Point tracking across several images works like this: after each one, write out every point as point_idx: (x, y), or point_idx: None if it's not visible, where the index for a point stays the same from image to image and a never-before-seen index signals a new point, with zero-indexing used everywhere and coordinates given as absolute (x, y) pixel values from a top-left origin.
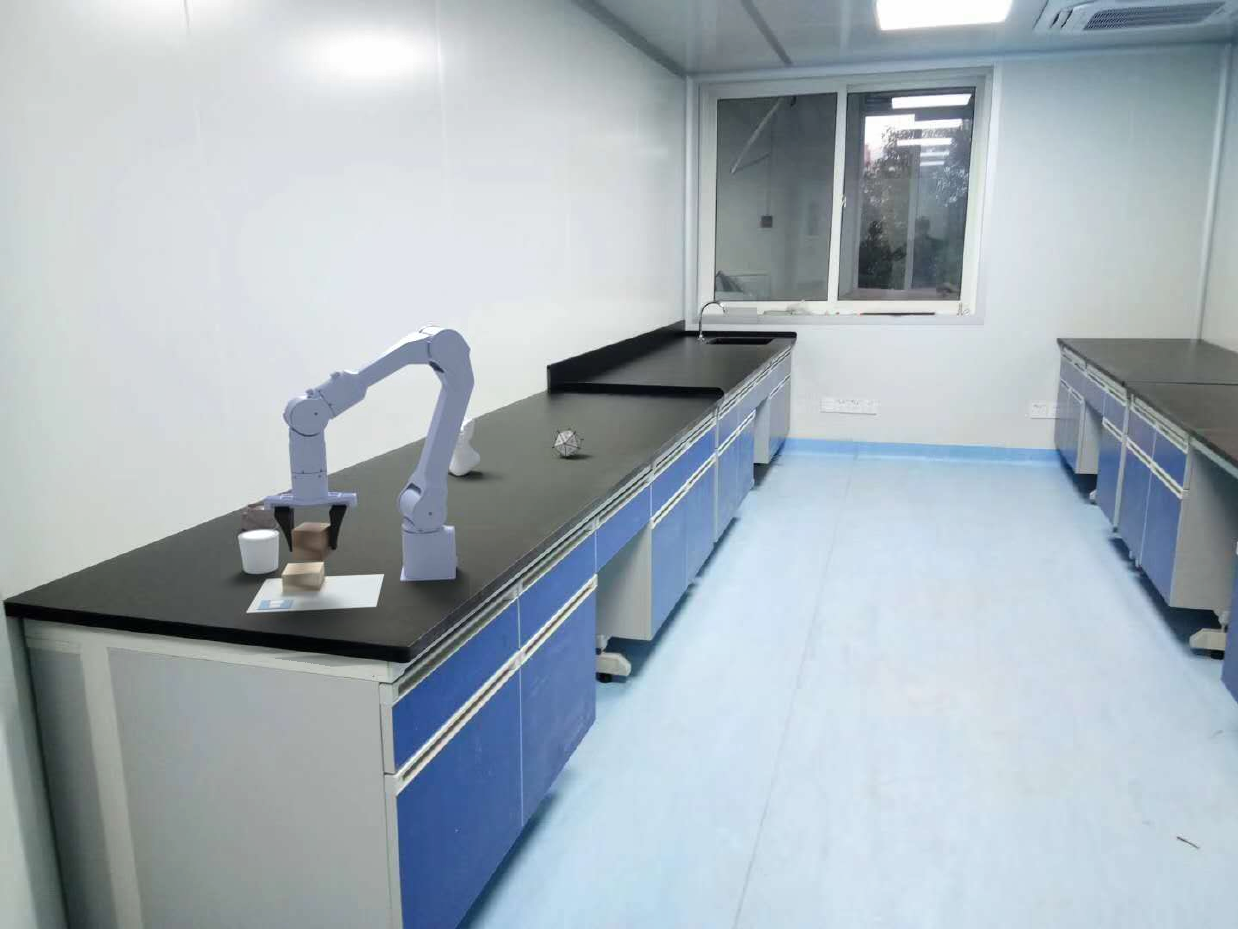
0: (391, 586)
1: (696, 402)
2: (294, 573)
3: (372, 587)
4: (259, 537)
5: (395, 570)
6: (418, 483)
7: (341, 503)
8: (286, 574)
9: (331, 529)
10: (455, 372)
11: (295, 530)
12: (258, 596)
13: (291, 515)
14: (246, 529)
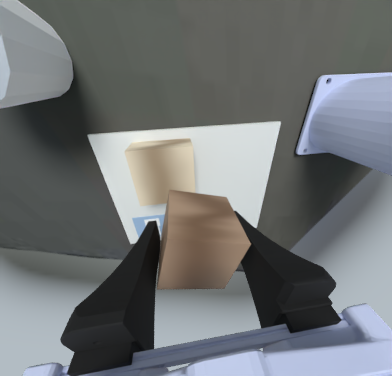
0: (280, 162)
1: None
2: (158, 201)
3: (258, 178)
4: None
5: (302, 83)
6: None
7: (319, 335)
8: (147, 204)
9: (246, 273)
10: None
11: (167, 288)
12: (119, 205)
13: (145, 316)
14: None
